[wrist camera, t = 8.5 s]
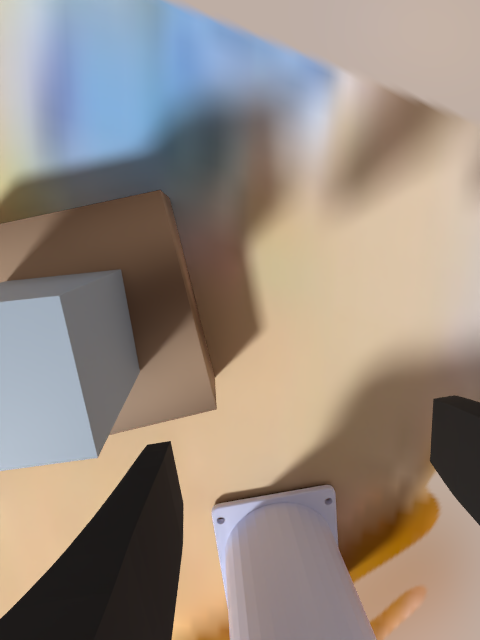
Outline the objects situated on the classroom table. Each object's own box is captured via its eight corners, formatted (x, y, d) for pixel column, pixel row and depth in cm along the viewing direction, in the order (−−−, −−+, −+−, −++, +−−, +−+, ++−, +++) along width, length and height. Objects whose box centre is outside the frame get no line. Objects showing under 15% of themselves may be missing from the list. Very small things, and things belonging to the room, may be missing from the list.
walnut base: (214, 374, 20) (216, 409, 16) (45, 414, 20) (6, 459, 16) (170, 199, 17) (160, 189, 13) (-27, 241, 17) (-95, 243, 13)
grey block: (140, 371, 15) (97, 457, 9) (34, 384, 15) (-76, 481, 9) (121, 269, 14) (58, 295, 8) (6, 281, 14) (-142, 317, 8)
